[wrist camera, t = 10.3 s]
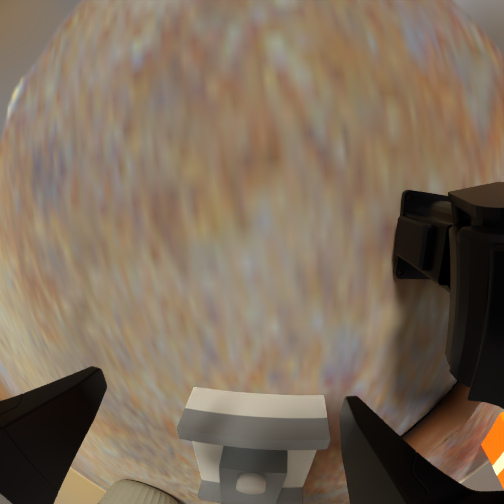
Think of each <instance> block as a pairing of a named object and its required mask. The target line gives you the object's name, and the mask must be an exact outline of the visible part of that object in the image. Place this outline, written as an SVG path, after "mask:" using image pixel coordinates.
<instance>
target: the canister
mask: <svg viewBox="0 0 504 504" xmlns="http://www.w3.org/2000/svg"><path fill="white" fill-rule="evenodd" d="M98 504H179V503H178V502H177V501H176V500H175V499H174V498H172V497H171V496H169V495H168V494H165V493H164V492H162V491H160V490H158V489H156V488H153V487H151V486H148V485H146V484H143V483H139V482H136V481H131V480H120V481H117V482H115V483H114V484H113V485H112V486H111V487H110V488H109V490H108V491H107V492H106V494H105V495H104V496H103V497H102V499H101V500H100V502H99V503H98Z"/></svg>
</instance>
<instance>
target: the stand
mask: <svg viewBox="0 0 504 504" xmlns="http://www.w3.org/2000/svg"><path fill="white" fill-rule="evenodd" d="M177 430H178V434H179V438H180V439H185V440H190V441H192V443H193V447H194V451H195V455H196V459H197V463H198V467H199V471H200V474H201V478H202V482H201V486H200V489H199V493H198V497H199V499H200V500H206V501H212V502H218V503H221V492H220V478H219V464H220V460H221V455H222V451H223V446H229V447H239V448H250V449H265V450H288V461H287V476H286V478H285V481H284V484H283V486H282V489H281V491H280V494H279V496H278V499H277V501H276V504H303V488H302V487H303V485H304V483H305V480H306V478H307V475H308V473H309V470H310V467H311V465H312V462H313V459H314V457H315V454H316V451H317V450H325V449H327V448H328V446H329V443H330V440H331V437H330V430H329V424H328V418H327V411H326V405H325V399H324V395H277V394H258V393H244V392H233V391H224V390H215V389H207V388H200V387H193V390H192V392H191V395H190V397H189V400H188V402H187V405H186V407H185V410H184V412H183V414H182V417H181V419H180V422H179V424H178V427H177Z"/></svg>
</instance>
